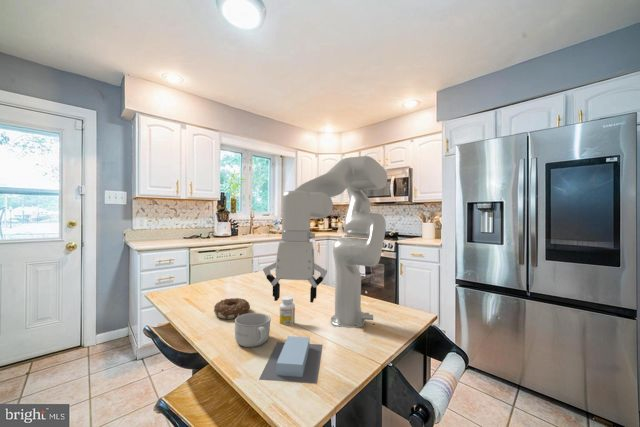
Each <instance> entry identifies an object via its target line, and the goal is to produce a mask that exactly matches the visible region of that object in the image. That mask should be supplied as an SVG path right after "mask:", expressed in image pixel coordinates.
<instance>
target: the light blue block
mask: <svg viewBox="0 0 640 427" xmlns="http://www.w3.org/2000/svg"><path fill="white" fill-rule="evenodd" d="M284 343H285V344H284V347H283V349H282V351H281V354H280V356H279V358H278V361H277V363H276V375H281V376H297V377H303V373H304V368H305V364H306V360H307V356H308V351H309V344H310V337H309V336H291V335H290V336H289V335H288V336H287V338H286V340H285V342H284Z"/></svg>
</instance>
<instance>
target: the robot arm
mask: <svg viewBox="0 0 640 427" xmlns="http://www.w3.org/2000/svg"><path fill="white" fill-rule="evenodd" d="M387 184H388V173H387V171H386V169H385V168H384V167H383V166H382V164H380V163H379V161H377V160H376V159H374V158H373V157H371V156H369V155H363V156H362V155H361V156H353V157H352V156H351V157H345V158H342V159H340V160H339V161H338V162H336V164H334V166H332V167H331V168H330V169H329V170H328V171H327V172H326V173H324V174H322V175H319V176H316V177H315V178H312V179H311V180H308V181H305V182H303V183H302V184H300V185H299V186H298V187H296V188H295V189H294V190H287V191H285V192H284V193H283V195H282V208H281V209H282V210H281V211H282V213H281V214H282V215H281V216H282V217H281V218H282V220H281V240H280V241H279V242H278V247H277V253H276V260H275V262H273V263H272V264H269V265H267V266H265V267H264V268H263V269H262V270H263V273H264V276H265V277H266V280H267V281H268V282H269V283H270V285H271V287H272V297H273V299H274V301H275V302H277V301H278V300H279V299H280V298H281V297H280V296H281V294H280V293H281V289H280V288H281V285H280V284H281V283H279V282H280V281H281V280H291V281H308V282H309V284H310V285H311V286H310V289H309V290H310V292H309V293H310V297H309V299H310V300H309V301H310V303H314V301H315V299H317V289H318V286H319V285H320V284H321V283H322V282H323V280H324V279H325V277H326V275H327V273H328V270H327V269H326V268H324V267H322V266H320V265H319V264H317V263H315V252H314V251H315V249H314V243H313V241H311V239H316V232H312V231H311V219H323V218H327V217H328V216H329V215H330V214H331V213H332V211H333V207H334V204H333V203H334V202H333V200H332V198H333V197H336V196H340V195H342V194H344V192H345V191H346V192H347V194H348V197H349V198H348V199H349V204H348V208H347V212H346V215H345V219H344V223H343V232H344V233H345V235H347V236H349V237H340V238H338V239H337V240H335V242H334V244H333V245H332V248H333V249H332V253H333V260H334V266H335V274H334V275H335V278H334V279H335V280H334V281H335V282H334V283H335V284H334V288H335V289H334V290H335V292H334V300H335V301H334V314H333V315H332V316H330V317H331V318H330V323H331V325H333V327H335V328H336V327H339V328H347V329H348V328H350V329H351V328H355V329H356V328H357V329H360V328H363V327H364V326H365V323H366V322H365V321H366V320H367V321H374V314H370V312H364V311H362V306H361V304H362V303H361V302H362V299H361V298H362V275H361V272H360V270H359V267H358V266H363V267H369V268H370V267H375V266H377V265H378V264H379V262H380V260H381V256H382V250H383V247H384V246H383V245H384V240H385V235H386V229H387V224H386V218H385V217H384V215H383V214H381V213H379V212H371V207H372V203H371V201H370V199H369V197H368V196H367V195H366V194H365V192H364V191H365V190H368V191H369V190H373V191H374V190H382V189H384V188H385V187H386V185H387ZM274 269H275V276H274V275H273V274H272V273H271V272H272V271H271V270H274ZM315 271H317V272H318V273H320V275H319V276H318V277H317V278H315V277H314V275H315Z"/></svg>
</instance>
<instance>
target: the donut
mask: <svg viewBox="0 0 640 427" xmlns="http://www.w3.org/2000/svg"><path fill="white" fill-rule="evenodd" d="M250 309H251V305H250V303H249V301H247V300H246V299H245V298H239V297H236V298H224V299H221V300H220V301H217V303H215V305H214V306H213V312H214V314H215V316H216V317H218V318H220V319H224V320H226V319H227V320H230V319H236V318H237V317H238V316H240V315H243V314H248V312H249V311H250Z"/></svg>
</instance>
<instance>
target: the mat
mask: <svg viewBox="0 0 640 427" xmlns="http://www.w3.org/2000/svg"><path fill="white" fill-rule="evenodd" d="M284 344H285V342H283V341H281V342H280V341H278V342H277V341H276V343H275V346H274V348H273V350H272V352H271V353H270V356H269V358H268V360H267V362H266V364H265V366H264V367H263V368H264V369H263V370H262V372H261V375H259V381H260V380H261V381H262V380H263V381H274V382H275V381H276V382H291V383H306V384H318V379H319V371H320V363H321V358H322V351H323V344H321V343H320V344H316V343H309V351H308V356H307V360H306V364H305V368H304V373H303V377H297V376H281V375H276V363H277V361H278V358H279V356H280V354H281V351H282V349H283V347H284Z"/></svg>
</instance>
